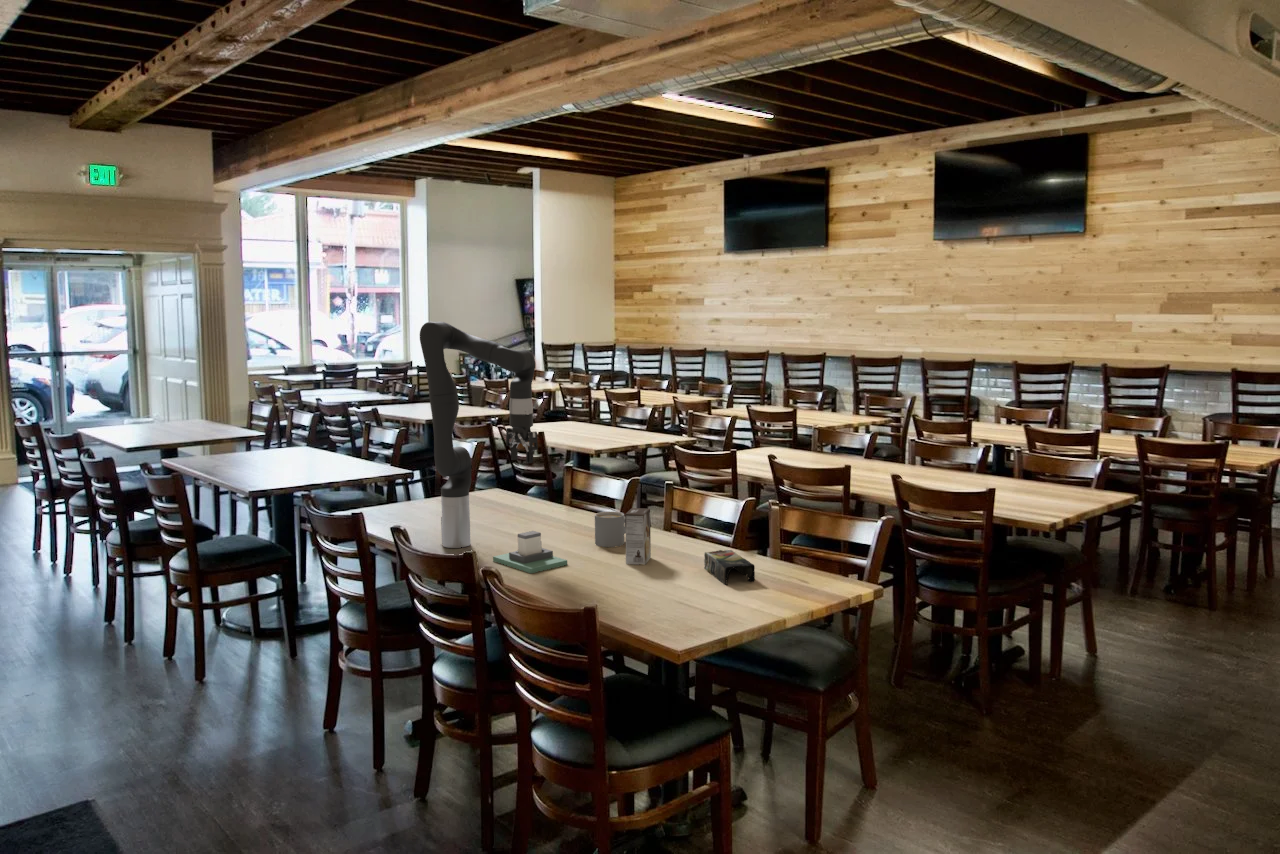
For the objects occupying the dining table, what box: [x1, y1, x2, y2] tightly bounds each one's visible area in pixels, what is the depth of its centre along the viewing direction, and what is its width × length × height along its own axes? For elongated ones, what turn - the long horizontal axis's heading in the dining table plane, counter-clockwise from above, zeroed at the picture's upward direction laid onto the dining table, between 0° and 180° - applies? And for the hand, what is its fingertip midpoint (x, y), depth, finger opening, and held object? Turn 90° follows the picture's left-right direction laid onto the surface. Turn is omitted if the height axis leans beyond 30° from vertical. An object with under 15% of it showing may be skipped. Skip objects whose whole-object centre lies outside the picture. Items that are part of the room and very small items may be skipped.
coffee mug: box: [594, 511, 626, 548], centre depth 330 cm, size 13×10×10 cm
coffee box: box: [624, 507, 652, 566], centre depth 306 cm, size 9×6×16 cm
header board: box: [492, 547, 568, 574], centre depth 305 cm, size 20×14×4 cm
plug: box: [517, 530, 543, 556], centre depth 305 cm, size 4×7×8 cm, turn 133°
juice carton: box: [703, 549, 756, 586], centre depth 290 cm, size 20×10×6 cm, turn 16°
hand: (521, 461), depth 317 cm, fingers open, 8 cm apart
